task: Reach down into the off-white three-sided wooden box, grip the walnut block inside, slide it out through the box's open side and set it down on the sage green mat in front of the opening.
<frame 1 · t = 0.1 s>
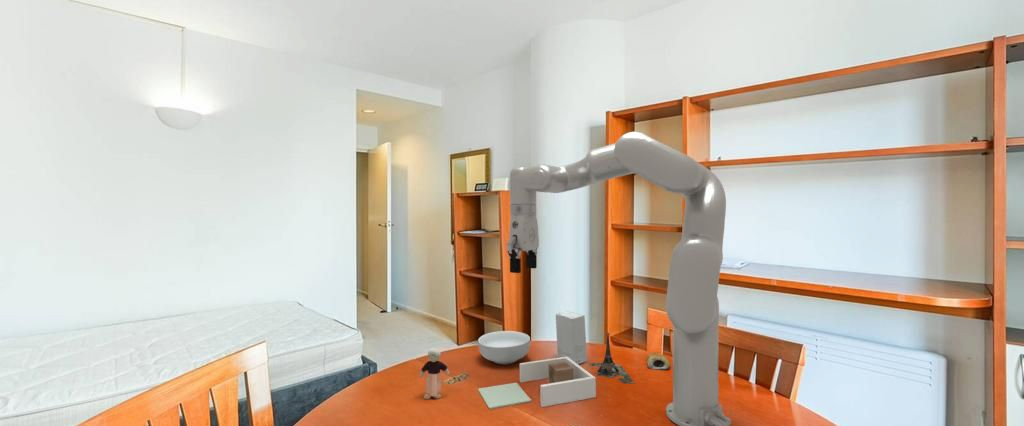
hand: (523, 270, 115), 31 cm above the table, tool pointing down, fingers open, 9 cm apart
pastry: (657, 366, 124), on the table
open side box: (554, 388, 108), on the table
walnut block: (561, 388, 108), resting in open side box
cereal bowl: (504, 360, 129), on the table
grandmother figurine: (434, 397, 104), on the table
skincare box: (571, 360, 128), on the table
sage mat: (503, 395, 104), on the table
eiffel tower figurine: (609, 375, 118), on the table
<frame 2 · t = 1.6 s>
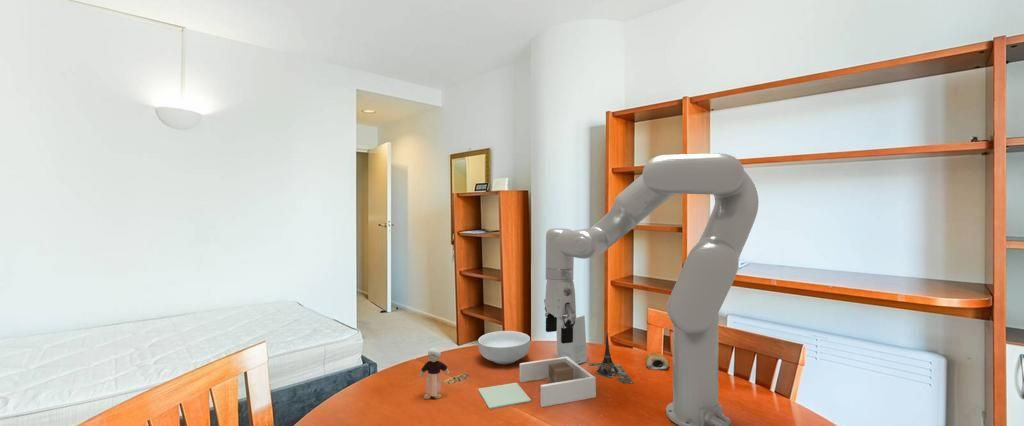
hand: (558, 336, 109), 14 cm above the table, tool pointing down, fingers open, 9 cm apart
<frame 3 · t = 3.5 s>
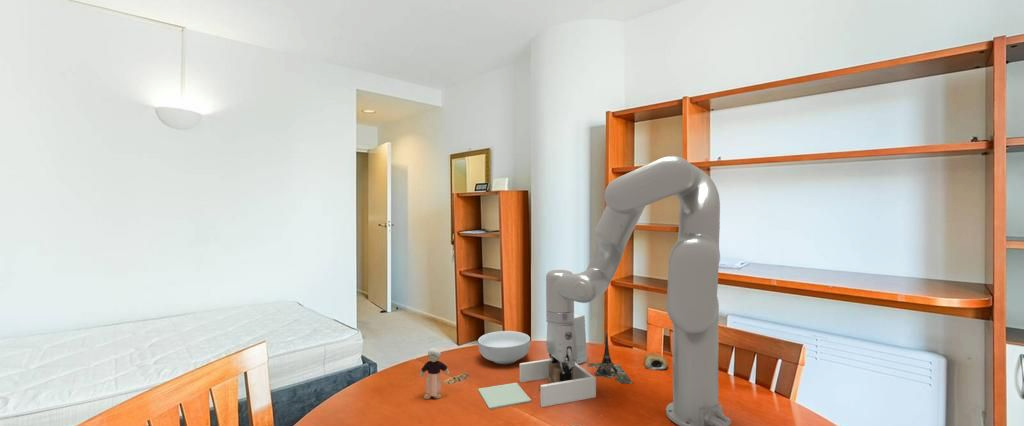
hand: (560, 382, 108), 1 cm above the table, tool pointing down, fingers closed on walnut block, 5 cm apart
walnut block: (560, 388, 108), resting in open side box, touching gripper
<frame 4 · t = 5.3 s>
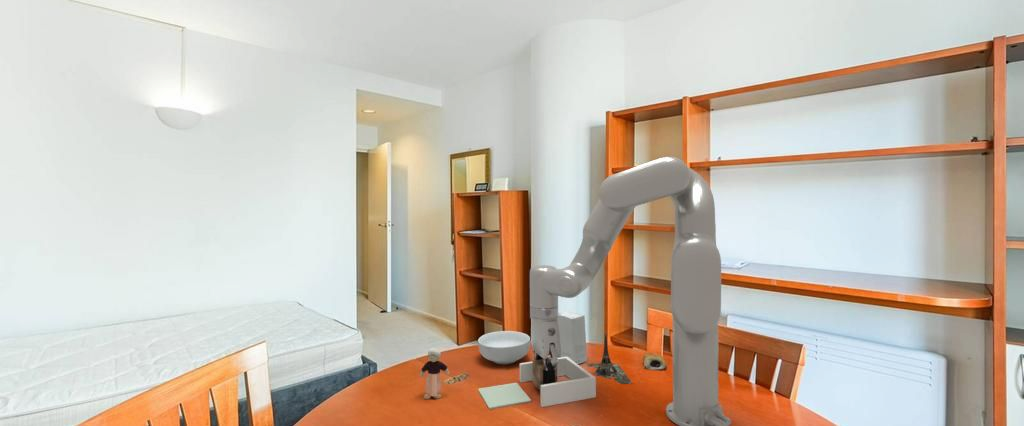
hand: (544, 379, 107), 3 cm above the table, tool pointing down, fingers closed on walnut block, 5 cm apart
walnut block: (544, 385, 107), point 1 cm above the table, touching gripper
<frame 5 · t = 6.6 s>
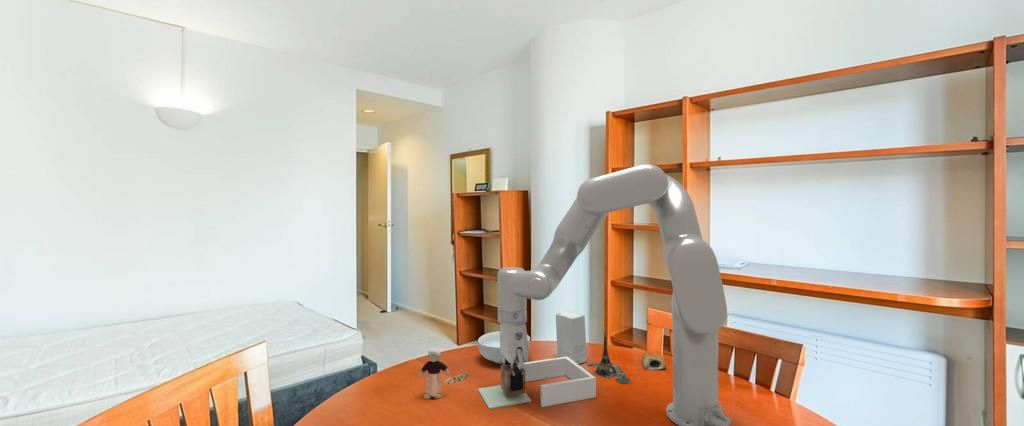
hand: (512, 384, 104), 3 cm above the table, tool pointing down, fingers closed on walnut block, 5 cm apart
walnut block: (513, 390, 104), point 1 cm above the table, touching gripper
when the fingers open (3 cm above the table, at t = 7.6 s): walnut block stays where it is, resting on sage mat.
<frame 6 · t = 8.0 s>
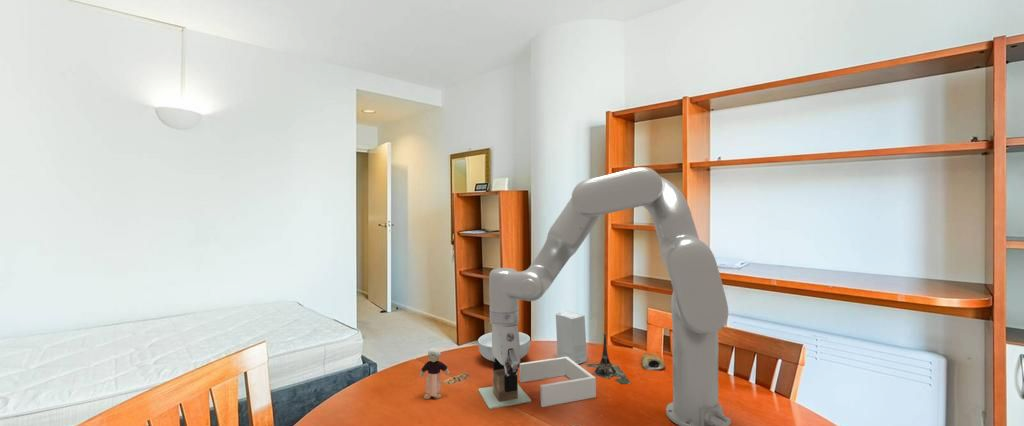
hand: (504, 383, 103), 4 cm above the table, tool pointing down, fingers open, 9 cm apart
walnut block: (505, 395, 103), resting on sage mat
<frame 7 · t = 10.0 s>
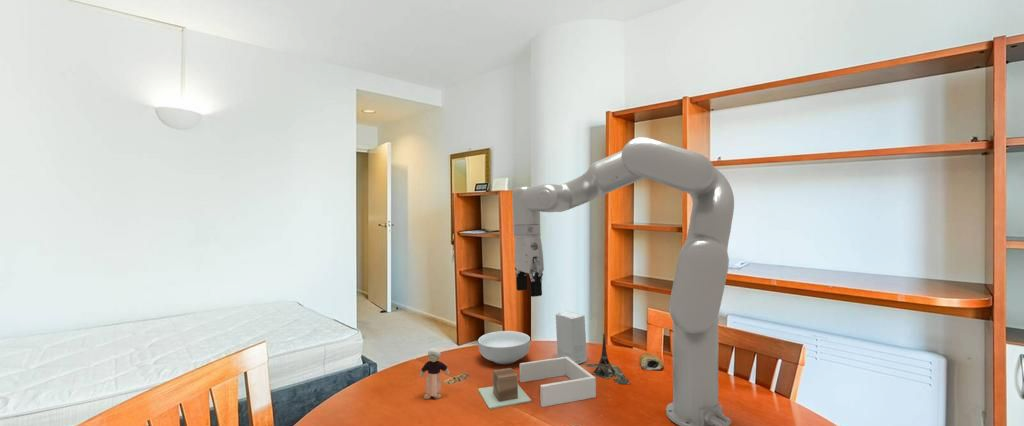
hand: (528, 292, 111), 25 cm above the table, tool pointing down, fingers open, 9 cm apart
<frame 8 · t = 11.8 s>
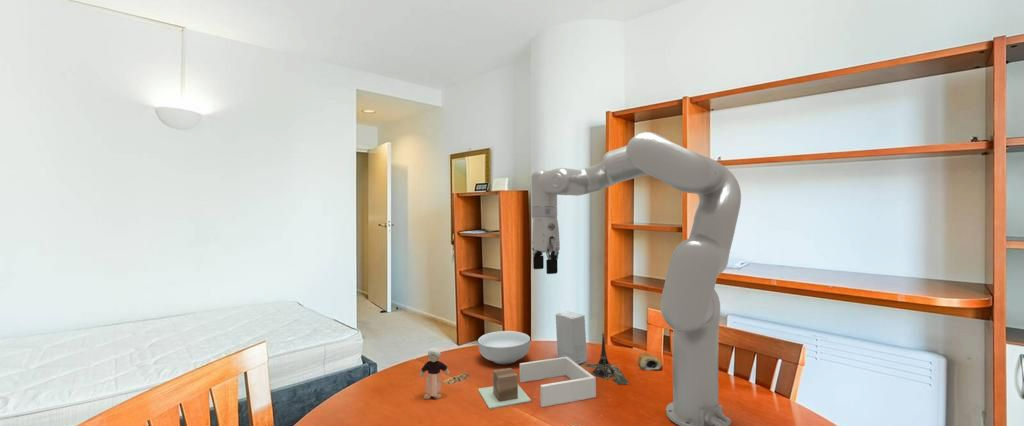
hand: (544, 271, 118), 30 cm above the table, tool pointing down, fingers open, 9 cm apart
at the end: walnut block inside the target area (0.7 cm from its centre), resting on sage mat; walnut block tilted 0°; the gripper is holding nothing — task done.
